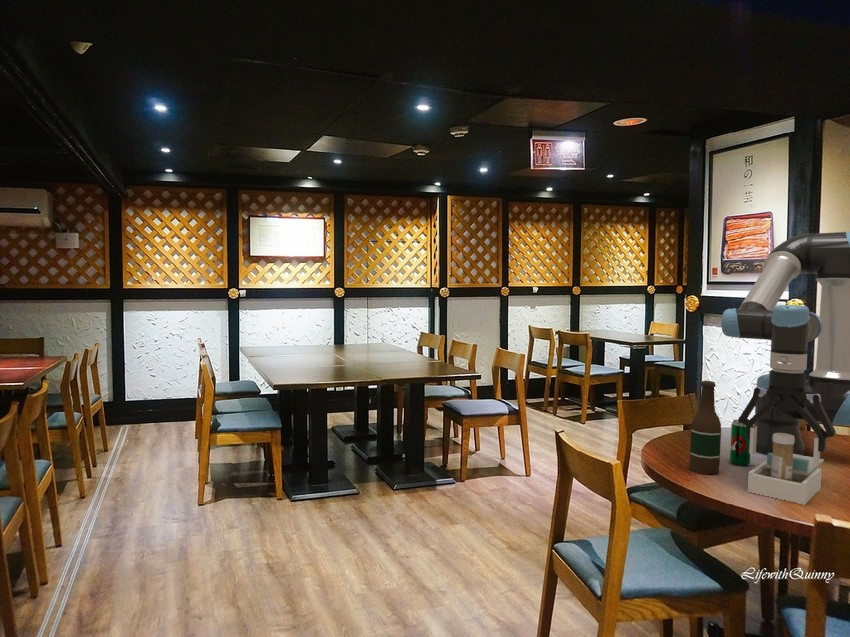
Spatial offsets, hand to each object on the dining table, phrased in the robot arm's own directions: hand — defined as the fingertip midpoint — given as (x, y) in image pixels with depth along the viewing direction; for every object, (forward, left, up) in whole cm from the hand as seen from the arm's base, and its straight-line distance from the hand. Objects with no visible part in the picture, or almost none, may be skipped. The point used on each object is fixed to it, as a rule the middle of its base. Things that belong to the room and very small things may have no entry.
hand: (783, 458), depth 151 cm
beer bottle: (-5, -20, -9) cm, 22 cm away
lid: (-11, 0, -4) cm, 12 cm away
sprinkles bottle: (0, 0, -8) cm, 8 cm away
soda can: (-19, -15, -9) cm, 25 cm away
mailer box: (-3, 0, -8) cm, 9 cm away
